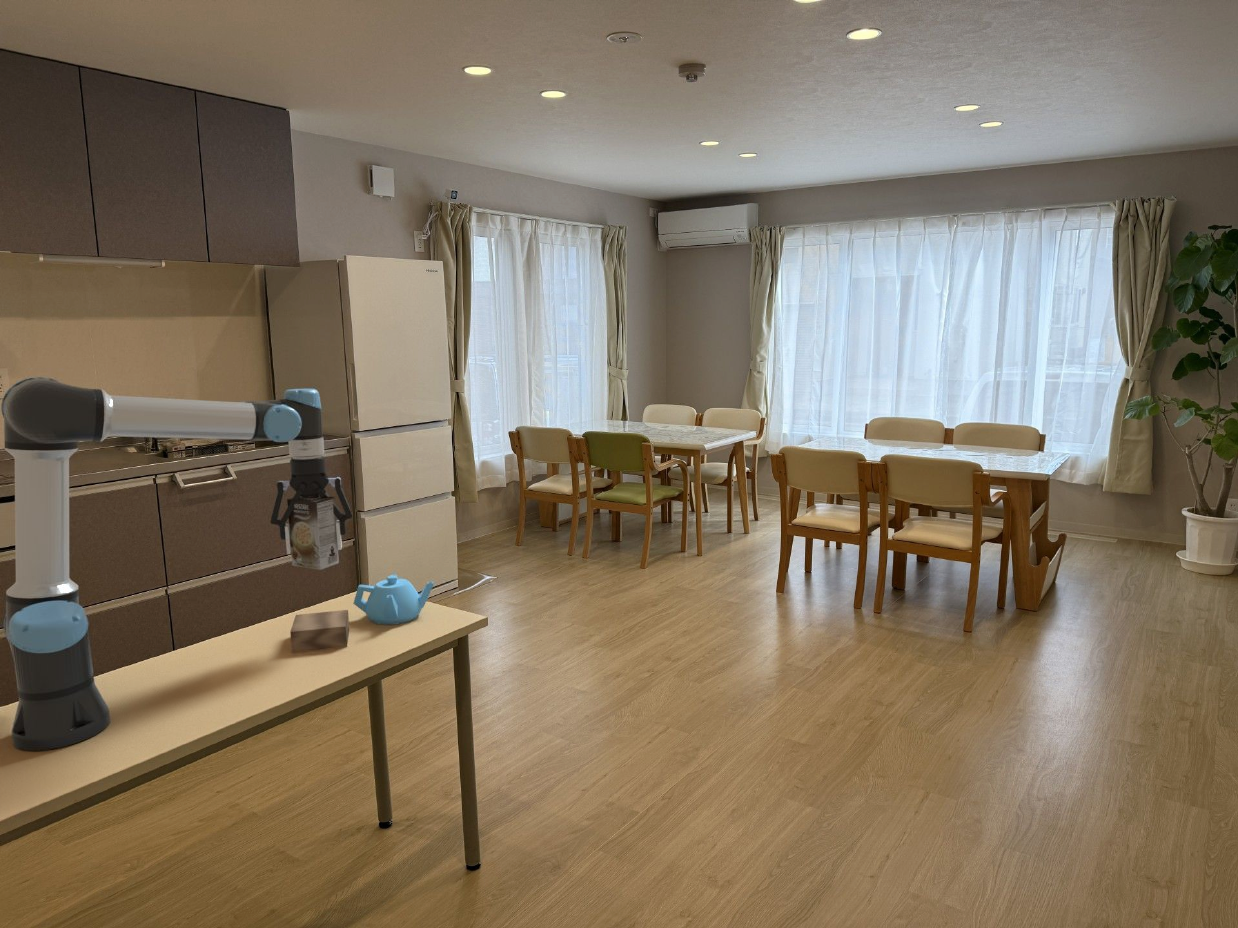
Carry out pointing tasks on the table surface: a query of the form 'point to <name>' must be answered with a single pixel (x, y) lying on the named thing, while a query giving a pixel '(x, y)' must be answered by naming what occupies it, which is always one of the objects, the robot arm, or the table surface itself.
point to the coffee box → (313, 532)
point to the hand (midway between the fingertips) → (314, 550)
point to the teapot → (392, 600)
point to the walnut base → (320, 631)
